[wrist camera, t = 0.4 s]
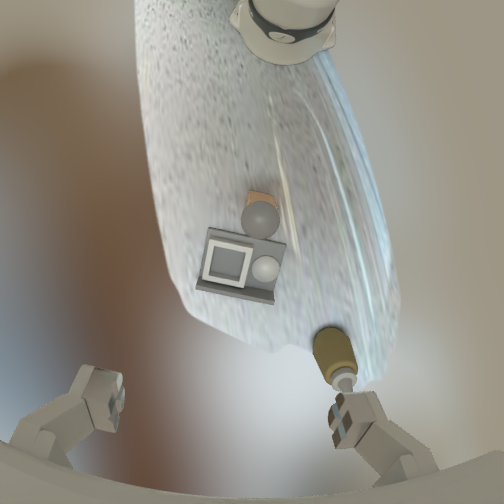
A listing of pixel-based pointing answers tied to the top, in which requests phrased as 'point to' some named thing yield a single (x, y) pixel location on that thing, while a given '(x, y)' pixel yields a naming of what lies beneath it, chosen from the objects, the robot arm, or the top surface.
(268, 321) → the top surface
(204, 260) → the housing
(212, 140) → the top surface
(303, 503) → the robot arm
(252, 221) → the grey-capped orange post
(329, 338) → the squeeze bottle
